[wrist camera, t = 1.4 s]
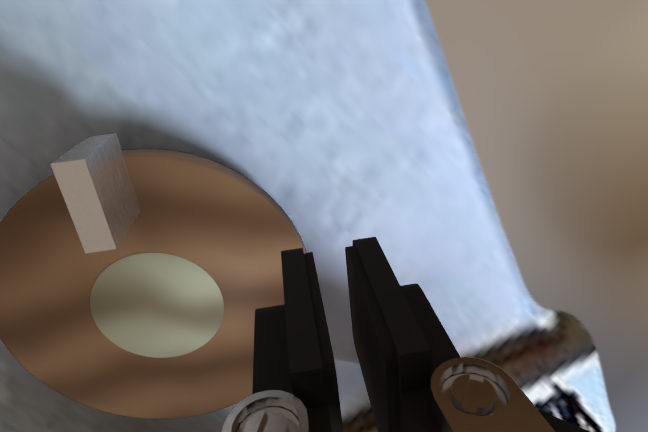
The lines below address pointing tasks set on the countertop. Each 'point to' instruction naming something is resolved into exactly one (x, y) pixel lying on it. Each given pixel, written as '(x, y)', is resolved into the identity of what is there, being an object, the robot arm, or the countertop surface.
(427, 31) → the countertop surface
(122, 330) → the turntable
